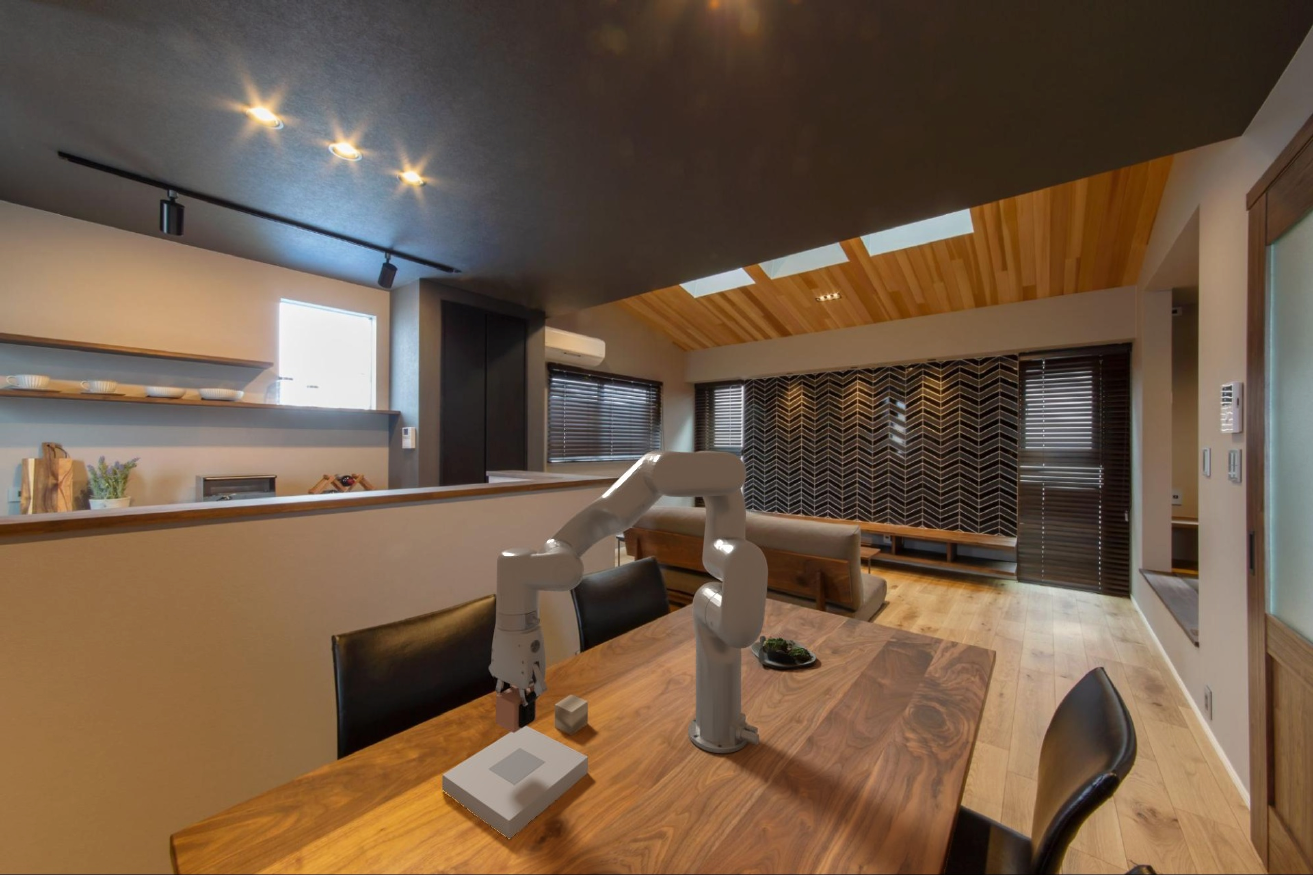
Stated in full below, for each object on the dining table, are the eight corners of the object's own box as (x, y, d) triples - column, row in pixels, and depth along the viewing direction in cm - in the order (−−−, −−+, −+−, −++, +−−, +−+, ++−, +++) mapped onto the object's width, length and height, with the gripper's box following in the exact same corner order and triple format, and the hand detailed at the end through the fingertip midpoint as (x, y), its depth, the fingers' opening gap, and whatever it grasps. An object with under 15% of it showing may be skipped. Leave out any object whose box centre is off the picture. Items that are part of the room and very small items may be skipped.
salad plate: (737, 644, 145) (737, 629, 145) (790, 639, 149) (790, 624, 149) (764, 674, 126) (764, 657, 126) (824, 667, 130) (824, 651, 130)
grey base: (587, 772, 88) (587, 756, 88) (509, 839, 73) (509, 820, 73) (523, 738, 98) (523, 723, 98) (442, 791, 83) (442, 774, 83)
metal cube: (587, 723, 104) (587, 701, 104) (571, 735, 99) (571, 711, 99) (571, 716, 106) (571, 694, 106) (554, 727, 102) (554, 704, 102)
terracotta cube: (535, 719, 86) (536, 691, 86) (513, 732, 82) (514, 704, 82) (517, 710, 89) (518, 683, 89) (495, 723, 85) (495, 695, 85)
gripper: (566, 622, 84) (564, 724, 84) (504, 603, 94) (502, 695, 94) (533, 636, 78) (531, 746, 78) (471, 614, 88) (469, 712, 87)
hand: (516, 717), depth 86 cm, fingers closed on terracotta cube, 5 cm apart
